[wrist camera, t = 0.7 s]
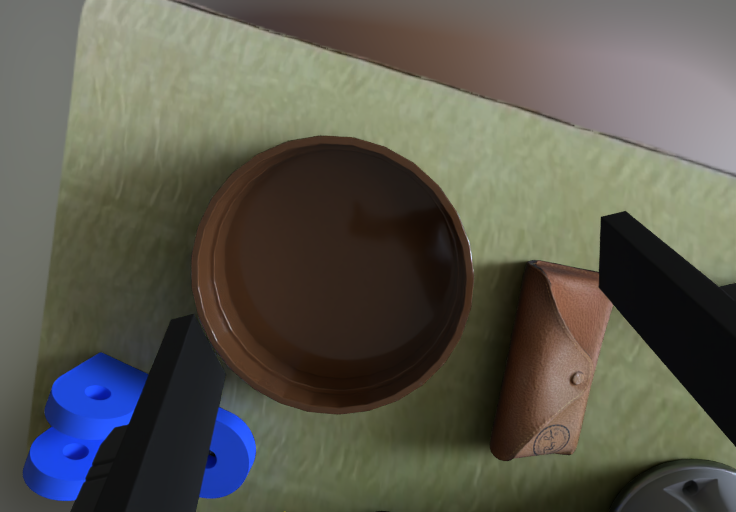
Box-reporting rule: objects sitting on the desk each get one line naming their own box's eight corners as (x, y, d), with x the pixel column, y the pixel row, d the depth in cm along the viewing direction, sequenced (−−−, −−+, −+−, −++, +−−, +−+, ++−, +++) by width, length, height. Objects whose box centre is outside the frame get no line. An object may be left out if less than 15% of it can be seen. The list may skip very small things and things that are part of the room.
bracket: (74, 422, 49) (2, 477, 40) (100, 352, 48) (31, 393, 39) (237, 497, 49) (200, 569, 40) (268, 430, 48) (237, 489, 39)
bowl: (512, 220, 43) (529, 228, 37) (386, 423, 47) (383, 460, 41) (286, 92, 42) (268, 80, 36) (179, 310, 46) (147, 330, 40)
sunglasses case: (579, 460, 45) (561, 494, 40) (506, 429, 49) (481, 457, 44) (621, 272, 42) (609, 281, 37) (540, 255, 46) (517, 261, 41)
